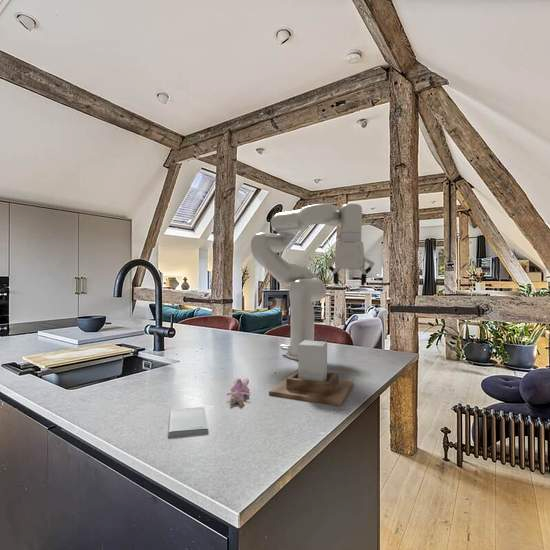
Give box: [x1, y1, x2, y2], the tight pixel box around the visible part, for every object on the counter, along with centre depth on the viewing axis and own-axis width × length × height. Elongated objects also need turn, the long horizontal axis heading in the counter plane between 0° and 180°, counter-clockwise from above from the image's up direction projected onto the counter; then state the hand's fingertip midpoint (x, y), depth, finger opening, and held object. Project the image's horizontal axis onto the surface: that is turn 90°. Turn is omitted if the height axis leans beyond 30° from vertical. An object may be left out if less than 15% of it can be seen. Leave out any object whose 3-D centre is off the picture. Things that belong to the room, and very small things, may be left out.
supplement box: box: [297, 340, 328, 382], centre depth 105 cm, size 7×7×13 cm
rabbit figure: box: [226, 377, 251, 406], centre depth 97 cm, size 6×6×15 cm
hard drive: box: [167, 406, 209, 438], centre depth 80 cm, size 2×8×12 cm
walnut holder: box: [268, 369, 354, 407], centre depth 105 cm, size 20×20×4 cm
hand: (349, 284), depth 131 cm, fingers open, 9 cm apart
